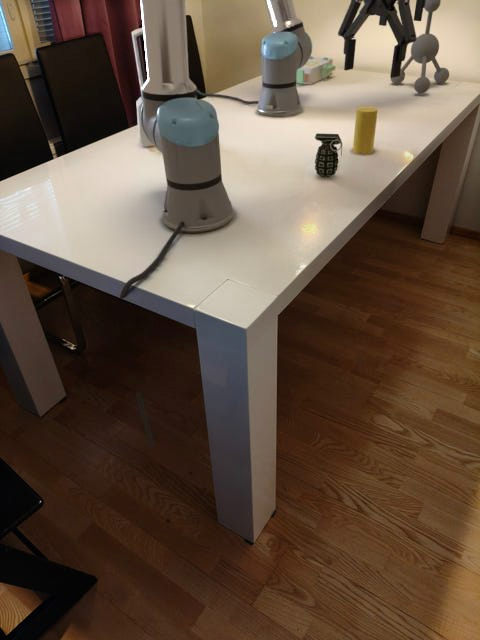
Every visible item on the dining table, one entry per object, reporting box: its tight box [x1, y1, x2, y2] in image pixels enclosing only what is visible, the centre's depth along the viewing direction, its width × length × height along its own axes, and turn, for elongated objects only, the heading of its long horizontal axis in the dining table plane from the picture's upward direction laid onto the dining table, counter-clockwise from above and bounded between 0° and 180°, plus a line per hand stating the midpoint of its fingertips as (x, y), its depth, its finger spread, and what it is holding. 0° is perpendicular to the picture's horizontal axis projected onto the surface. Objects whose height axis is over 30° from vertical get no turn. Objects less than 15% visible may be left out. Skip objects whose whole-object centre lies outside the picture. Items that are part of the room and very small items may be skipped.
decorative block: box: [296, 55, 336, 85], centre depth 206 cm, size 26×6×20 cm
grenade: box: [314, 133, 343, 179], centre depth 119 cm, size 7×6×10 cm
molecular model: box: [390, 0, 450, 94], centre depth 178 cm, size 24×22×30 cm
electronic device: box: [130, 27, 156, 148], centre depth 141 cm, size 12×8×30 cm, turn 105°
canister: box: [352, 106, 379, 155], centre depth 132 cm, size 6×6×11 cm
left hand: (370, 73), depth 118 cm, fingers open, 13 cm apart
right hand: (400, 23), depth 153 cm, fingers open, 13 cm apart
